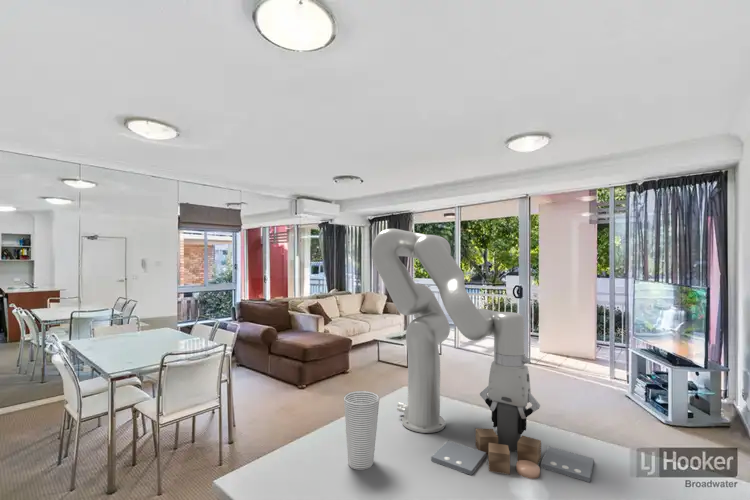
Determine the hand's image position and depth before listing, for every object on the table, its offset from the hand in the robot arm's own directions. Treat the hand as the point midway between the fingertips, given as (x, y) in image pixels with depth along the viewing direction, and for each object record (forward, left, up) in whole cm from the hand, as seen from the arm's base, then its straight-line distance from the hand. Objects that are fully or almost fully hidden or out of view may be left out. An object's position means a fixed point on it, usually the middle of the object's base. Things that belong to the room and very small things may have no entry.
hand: (508, 428), depth 97 cm
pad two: (-8, -14, -5) cm, 17 cm away
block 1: (-4, -6, -5) cm, 8 cm away
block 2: (+1, -12, -5) cm, 13 cm away
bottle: (0, 0, -5) cm, 5 cm away
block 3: (+6, -4, -5) cm, 9 cm away
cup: (-26, -30, -5) cm, 40 cm away
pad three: (+14, -1, -5) cm, 15 cm away
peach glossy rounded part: (+7, -10, -5) cm, 13 cm away
